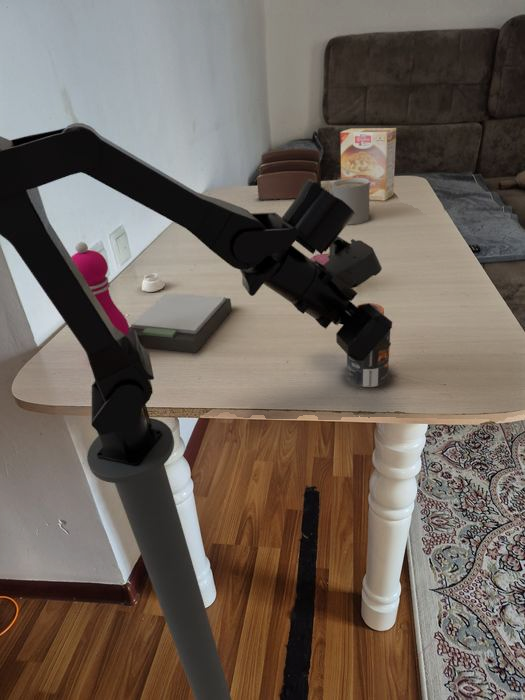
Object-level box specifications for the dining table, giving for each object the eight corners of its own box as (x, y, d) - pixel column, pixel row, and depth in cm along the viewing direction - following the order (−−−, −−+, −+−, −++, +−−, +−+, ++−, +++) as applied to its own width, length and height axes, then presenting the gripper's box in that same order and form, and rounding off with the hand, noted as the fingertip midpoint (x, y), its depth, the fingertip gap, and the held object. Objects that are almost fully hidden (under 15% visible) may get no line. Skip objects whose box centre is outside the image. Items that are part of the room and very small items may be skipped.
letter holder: (265, 192, 169) (261, 150, 162) (321, 190, 164) (320, 146, 157) (258, 200, 161) (253, 156, 154) (317, 198, 156) (315, 152, 149)
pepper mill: (84, 360, 83) (45, 249, 73) (110, 339, 89) (77, 233, 78) (118, 366, 80) (83, 251, 70) (142, 343, 86) (113, 235, 75)
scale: (195, 353, 82) (192, 336, 80) (126, 345, 86) (121, 329, 85) (232, 309, 94) (229, 294, 93) (169, 305, 99) (166, 290, 97)
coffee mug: (368, 223, 130) (369, 185, 125) (331, 225, 132) (330, 187, 127) (369, 209, 141) (370, 173, 136) (335, 210, 143) (334, 175, 138)
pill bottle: (384, 391, 68) (388, 320, 62) (343, 385, 70) (342, 317, 64) (390, 367, 73) (394, 300, 67) (351, 363, 75) (351, 297, 69)
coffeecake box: (340, 198, 154) (339, 131, 144) (350, 192, 159) (350, 127, 149) (385, 201, 146) (387, 131, 136) (394, 194, 151) (397, 127, 141)
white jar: (164, 291, 105) (164, 282, 110) (162, 278, 104) (162, 270, 108) (141, 294, 105) (142, 285, 109) (138, 282, 103) (139, 273, 107)
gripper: (379, 251, 50) (458, 320, 59) (311, 208, 66) (381, 268, 74) (312, 333, 53) (397, 388, 61) (262, 274, 68) (335, 324, 76)
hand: (377, 336), depth 68 cm, fingers closed on pill bottle, 6 cm apart
